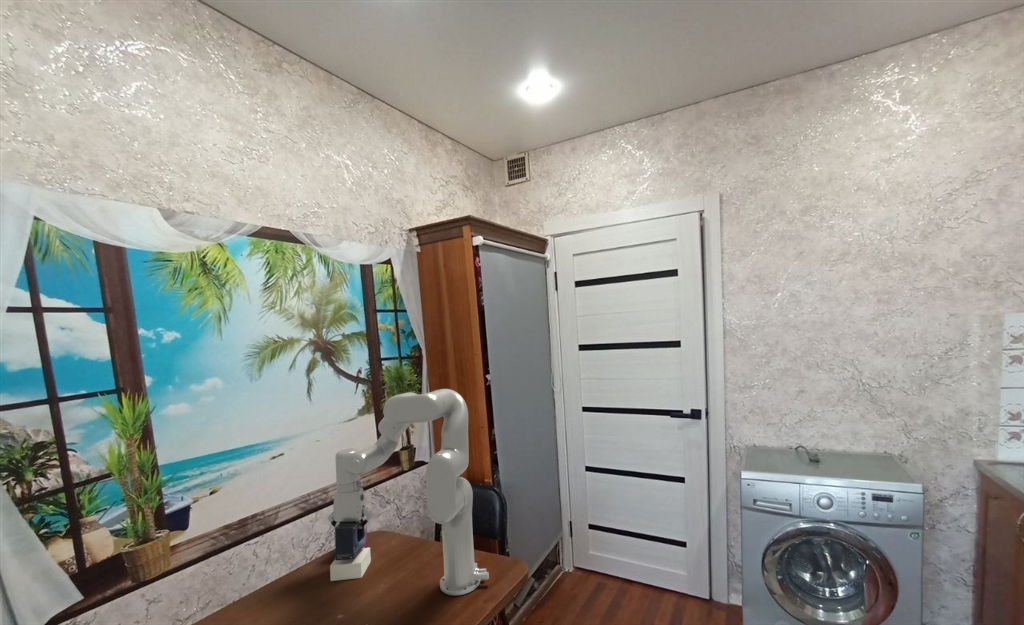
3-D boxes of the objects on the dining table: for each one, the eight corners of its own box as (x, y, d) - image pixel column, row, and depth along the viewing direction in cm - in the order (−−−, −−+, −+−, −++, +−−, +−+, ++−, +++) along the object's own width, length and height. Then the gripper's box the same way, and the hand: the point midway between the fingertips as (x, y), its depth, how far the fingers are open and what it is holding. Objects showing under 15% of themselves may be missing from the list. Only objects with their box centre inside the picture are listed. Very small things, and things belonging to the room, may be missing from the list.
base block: (370, 562, 140) (370, 547, 141) (361, 578, 130) (361, 562, 131) (342, 565, 140) (341, 550, 140) (330, 581, 130) (330, 566, 130)
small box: (354, 560, 130) (352, 527, 131) (334, 561, 130) (333, 528, 131) (366, 543, 141) (365, 513, 142) (348, 545, 141) (347, 514, 142)
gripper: (377, 481, 140) (379, 533, 139) (331, 483, 142) (333, 535, 140) (367, 489, 133) (369, 544, 131) (318, 491, 134) (320, 546, 133)
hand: (350, 539), depth 136 cm, fingers closed on small box, 6 cm apart
